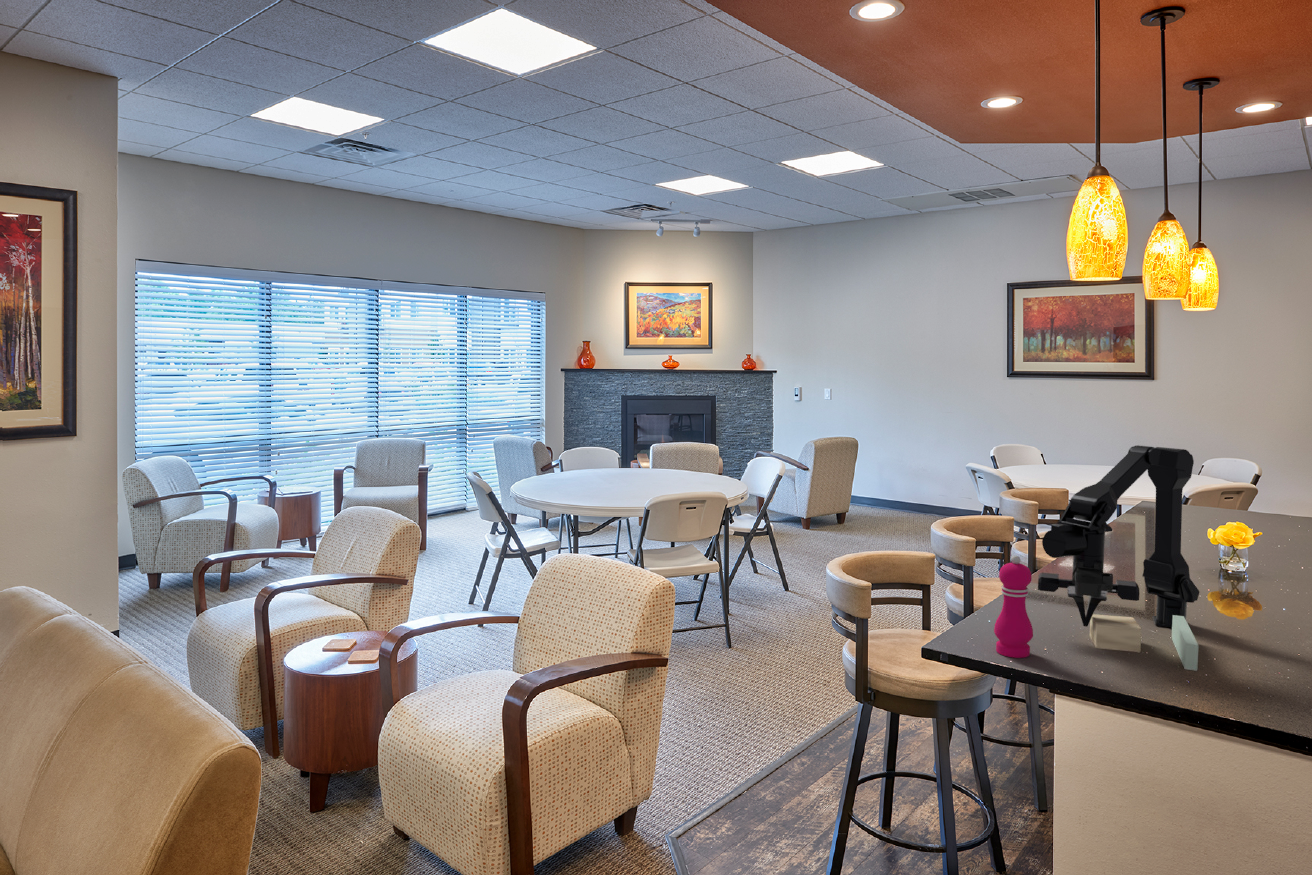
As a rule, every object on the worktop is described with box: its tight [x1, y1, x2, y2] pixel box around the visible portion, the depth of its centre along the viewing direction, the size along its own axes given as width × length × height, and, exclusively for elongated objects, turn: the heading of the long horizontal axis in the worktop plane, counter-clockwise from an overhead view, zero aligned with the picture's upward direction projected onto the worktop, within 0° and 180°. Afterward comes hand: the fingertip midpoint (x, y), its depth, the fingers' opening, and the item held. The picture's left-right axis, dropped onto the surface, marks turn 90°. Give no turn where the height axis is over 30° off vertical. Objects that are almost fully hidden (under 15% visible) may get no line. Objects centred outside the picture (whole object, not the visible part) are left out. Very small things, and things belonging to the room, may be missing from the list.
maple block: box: [1089, 613, 1142, 653], centre depth 172 cm, size 8×8×5 cm
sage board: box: [1171, 615, 1199, 672], centre depth 166 cm, size 20×2×5 cm, turn 154°
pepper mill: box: [993, 555, 1034, 659], centre depth 166 cm, size 7×7×20 cm
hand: (1085, 625), depth 174 cm, fingers closed
